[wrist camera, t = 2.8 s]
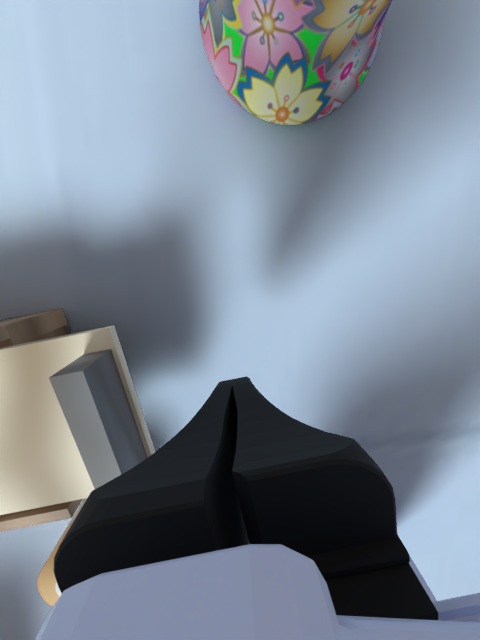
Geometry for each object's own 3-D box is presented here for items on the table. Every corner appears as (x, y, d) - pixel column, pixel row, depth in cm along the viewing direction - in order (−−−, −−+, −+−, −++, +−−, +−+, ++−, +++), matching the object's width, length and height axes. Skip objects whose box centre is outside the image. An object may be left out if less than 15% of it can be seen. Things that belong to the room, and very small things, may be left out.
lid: (114, 325, 11) (79, 345, 9) (163, 475, 13) (146, 528, 11) (-86, 365, 11) (-182, 397, 9) (-8, 508, 13) (-66, 571, 11)
